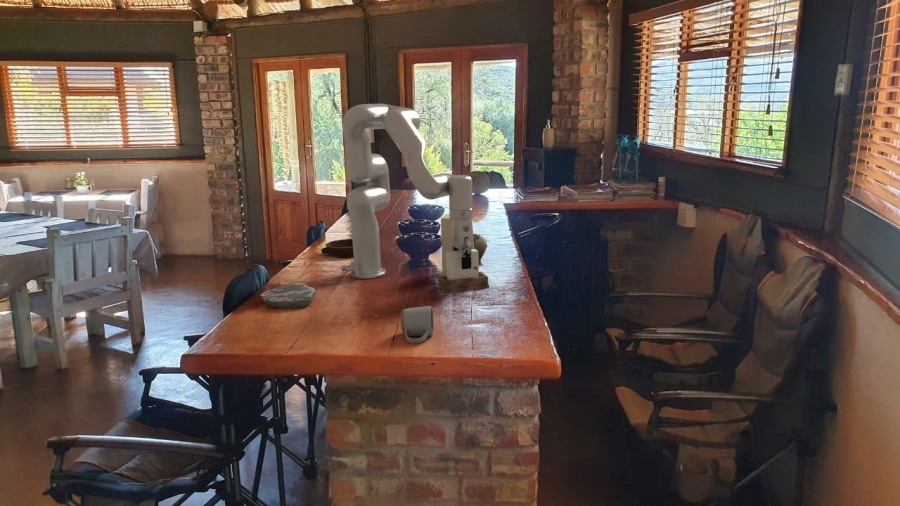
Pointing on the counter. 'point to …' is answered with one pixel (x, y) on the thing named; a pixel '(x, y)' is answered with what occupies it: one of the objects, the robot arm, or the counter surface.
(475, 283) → the brown wooden tray
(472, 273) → the rectangular block
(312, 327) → the counter surface
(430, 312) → the ceramic mug
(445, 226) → the toy refrigerator
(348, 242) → the dish
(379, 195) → the robot arm
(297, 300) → the brain slice
